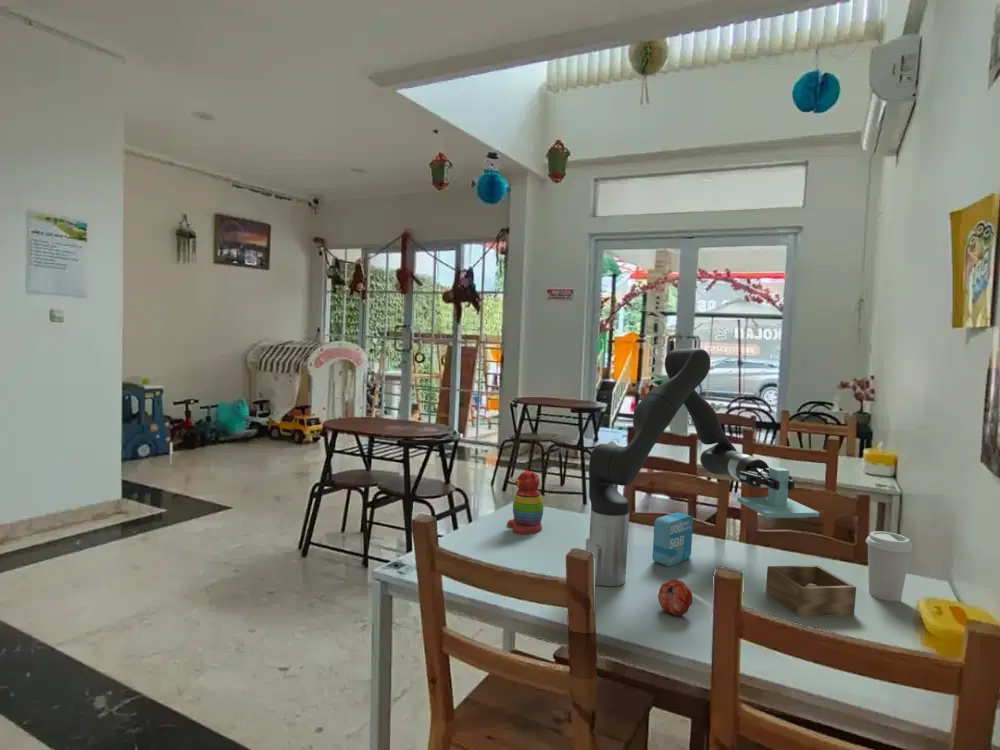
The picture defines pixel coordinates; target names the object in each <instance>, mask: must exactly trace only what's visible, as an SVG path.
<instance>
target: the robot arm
mask: <svg viewBox="0 0 1000 750" xmlns="http://www.w3.org/2000/svg"><path fill="white" fill-rule="evenodd" d="M710 367H711V357H710V355H709V353H708V351H707V350H705V349H703V348H698V347H691V348H689V347H688V348H679V349H673V350H670V351H669V352H668V353H667V354H666V355H665V359H664V369H665V373H666V376H667V377H668V379H667V380H665V381H664V382H662V383H660V384H659V385H657V386H654V388H652V389H650V390H649V391H647V393H646V394H645V395H644V396H643V397H642V399H641V400H640V401H639V403H638V404H637V406H635V409H634V412H633V415H632V416H633V419H632V420H633V428H634V436H633V437H632V439H631V440H630V442H629V443H628V444H626V445H625V446H619V445H614V444H609V443H599V444H597V445H596V446H594V448H593V450H592V451H591V454H590V456H589V464H588V496H589V498H588V499H589V500H590V521H589V537H588V538H586V540H585V552H586V551H590V552H593V553H594V559H595V585H594V586H604V587H618V586H622V585H624V584H625V583H626V580H627V579H626V578H627V562H628V561H627V560H628V559H627V558H628V541H629V521H630V500H628V498H626V497H625V496H623V494H621V493H620V492H619V491H618V489H616V487H615V486H614V485H616V486H620V487H621V486H622V487H624V486H628V485H631V483H633V481H635V479H637V477H638V475H639V474H640V472H641V469H642V467H643V466H644V464H645V462H646V461H647V458H648V457H649V454H650V453H651V451H652V449H653V448H654V446H655V445H656V443H657V441H658V440H659V438H660V437H661V436H662V434H664V433H663V432H664V431H665V430H667V428H668V427H669V425H670V424H671V421H673V419H674V418H675V416H676V415H677V413H678V411H679V410H680V408H681V407H682V406H683V405H684V407H685V408H686V410H687V412H688V414H689V416H690V417H691V421H692V424H693V425H694V429H695V431H696V434H697V438H698V439H699V441H700V443H702V444H703V445H708V446H711V445H712V446H711V447H708V448H707V449H706V450H703V451H702V453H701V454H700V460H699V461H700V464H701V466H702V467H703V469H704V470H705V471H707V472H708V473H711V474H714V475H721V476H723V475H724V476H725V475H726V476H727V475H728V476H731V477H732V478H734V479H735V480H737V481H739V482H741V483H743V484H745V485H747V486H749V487H751V488H760V487H765V488H769V487H770V488H772V489H774V490H779V486H780V482H779V481H777V480H775V479H772V478H769V474H770V468H771V467H769V465H768V463H767V462H766V461H764V460H762V459H760V458H757V457H754V456H752V455H750V454H747V453H742V452H740V451H737V449H736V448H735V445H733V444H732V442H731V441H730V440H729V439H728V436H727V435H726V434H725V432H724V430H723V428H722V425H721V422H720V419H719V416H718V414H717V412H716V411H715V409H714V408H713V407H712V405H711V404H710V403H709V402H707V401H706V399H705V398H703V397H702V396H701V394H699V392H698V391H697V388H698V387H699V386H700V384H701V383H703V381H704V380H705V379H706V377H707V376H708V373H709V372H710ZM792 479H793V476H792V475H791V473H789V480H788V491H793V490H794V489H795V481H793V480H792Z"/></svg>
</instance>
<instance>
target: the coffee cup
mask: <svg viewBox="0 0 1000 750" xmlns="http://www.w3.org/2000/svg"><path fill="white" fill-rule="evenodd" d="M865 543H866V544H867V557H868V558H867V559H868V560H867V562H868V563H867V565H868V567H867V568H868V594H869V595H871V596H872V597H874V598H876V599H880V600H883V601H888V602H899V603H900V602H902V598H903V592H904V586H905V580H906V576H907V570H908V565H909V560H910V556H911V552H913V551H914V548H913V544H912V543H911V540H910V538H908V537H907V536H904V535H902V534H898V533H894V532H889V531H881V530H880V531H879V530H877V531H871V532H870V533H869V535H868V536H867V537H866V539H865Z"/></svg>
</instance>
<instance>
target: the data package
mask: <svg viewBox="0 0 1000 750" xmlns="http://www.w3.org/2000/svg"><path fill="white" fill-rule="evenodd" d="M653 524H654V525H653V541H652V561H653V562H654V563H657V564H660V565H663V566H665V567H671V566H674V565H676V564H678V563H679V564H680V563H681V562H684V561H686V560H689V559H690V557H691V554H692V545H693V541H692V540H693V524H694V519H693V516H691V515H689V514H685V513H681V512H672V513H670V514H666V515H664V516H663V515H662V516H660V517H657V518H656V519H655V521H654V523H653Z"/></svg>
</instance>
